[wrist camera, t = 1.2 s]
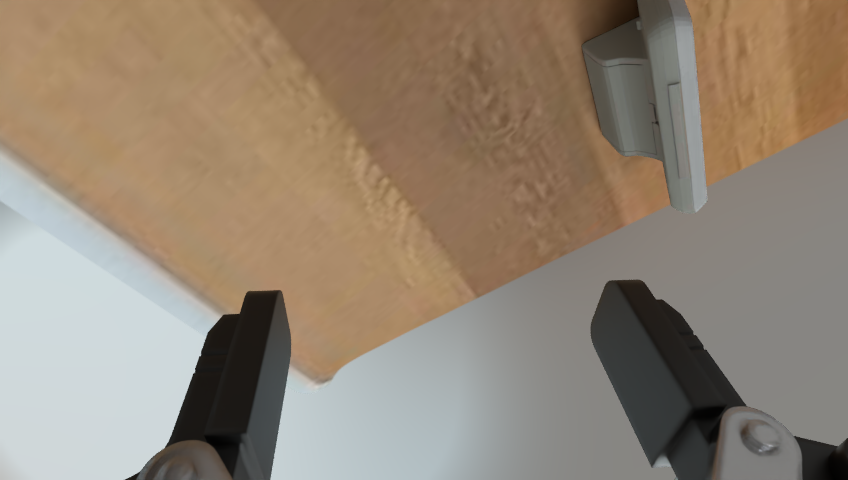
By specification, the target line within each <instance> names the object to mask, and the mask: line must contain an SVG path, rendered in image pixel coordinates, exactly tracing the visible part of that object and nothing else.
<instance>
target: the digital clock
mask: <svg viewBox="0 0 848 480" xmlns="http://www.w3.org/2000/svg"><path fill="white" fill-rule="evenodd" d="M637 3H638V10H639V17H637V18H635V19H633V20H631V21H629V22H627V23H625V24H623V25H621V26H618V27H616V28H614V29H612V30H610V31H608V32H606V33H604V34H602V35H600V36H598V37H596V38H593V39H591V40H589V41H587V42H585V43H584V44H582V50H583V54H584V58H585V63H586V67H587V71H588V75H589V80H590V84H591V88H592V92H593V97H594V101H595V105H596V109H597V114H598V118H599V122H600V126H601V131H602V135H603V136H604V137H605V138H606V139H607V140H608V142H609V143H610V144H611V145H612V146H613V147H614V148H615V149H616V150H617V151H618V152H619V153H620V154H621V155H623V156H635V155H638V156H645V157H650V158H654V159H657V160H660V161H662V162H663V167H664V172H665V177H666V183H667V188H668V193H669V198H670V203H671V206H672V207H673V208H675V209H676V210H678V211H681V212H683V213H695V212H697V211H698V210H699V209H700V208H701V207H702V206H703V205H704V204H705V203H706V202H707V191H706V190H707V189H706V177H705V165H704V153H703V141H702V129H701V117H700V105H699V94H698V82H697V70H696V58H695V46H694V34H693V26H692V20H691V16H690V13H689V11H688V8H687V6H686V3H685V1H684V0H637Z"/></svg>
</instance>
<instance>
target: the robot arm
mask: <svg viewBox="0 0 848 480" xmlns="http://www.w3.org/2000/svg"><path fill="white" fill-rule="evenodd" d="M591 339H592V343H593V345H594V348H595V350H596V352H597V354H598V356H599V358H600V360H601V362H602V364H603V367H604V369H605V371H606V373H607V375H608V377H609V379H610V381H611V383H612V385H613V387H614V390H615V392H616V394H617V396H618V398H619V400H620V402H621V404H622V406H623V408H624V410H625V412H626V415H627V417H628V418H629V421H630V423H631V425H632V427H633V429H634V431H635V433H636V435H637V438H638V439H639V442H640V444H641V446H642V448H643V450H644V452H645V454H646V456H647V458H648V461H649V462H650V464H651V467H652V468H653V467H667V466H671V467H672V468H673V470H674V472H675V474H676V478H675V479H674V480H848V438H847V439H846V440H845V441H844V442H843V443H842V444H841V445H839V446H834V445H829V444H825V443H821V442H817V441H813V440H808V439H804V438H800V437H796V436H793V435H792V434H791V433H790V432H789V430H788V429H787V428H786V427H785V426H784V425H782V424H781V423H780V422H779V421H777V420H776V419H775V418H773V417H772V416H770V415H768V414H766V413H764V412H762V411H760V410H757V409H754V408H750V407H747V406H746V404H745V403H744V402H743V401H742V399H741V398H740V396H739V395H738V393H737V392H736V391H735V389H734V388H733V386H732V385H731V384H730V382H729V381H728V379H727V378H726V377H725V376H724V374H723V372H722V371H721V370H720V368H719V367H718V366H717V364H716V363H715V361H714V360H713V358H712V357H711V356H710V354H709V353H708V352H707V350H704V348H703V344H702V343H701V342H700V340H699V339H698V337H697V336H696V335H694V334H693V330H692V329H691V328H690V326H689V325H688V323H687V322H686V321H685V319H684V318H683V316H682V315H681V314H680V313H679V312H677V311H676V310H675V309H674V308H672V307H671V306H670V305H669V304H667V303H666V302H665V301H664V300H656V299H655V297H654V296H653V294H652V293H651V292H650V290H649V289H648V287H647V286H646V284H645V283H644V282H643V281H641V280H614V281H613V280H612V281H609V282H608V283H606V285H605V287H604V290H603V292H602V295H601V298H600V300H599V303H598V306H597V308H596V311H595V314H594V316H593V319H592V322H591ZM290 356H291V335H290V329H289V324H288V319H287V314H286V309H285V303H284V298H283V294H282V292H281V290H273V291H248V292H247V293H246V295H245V298H244V302H243V305H242V308H241V312H240V314H228V315H223V316H222V317H221V318H220V320H219V321H218V322H217V323H216V324H215V325H214V326H213V327H212V329H211V330H210V331H209V332H208V334H207V337H206V340H205V343H204V346H203V348H202V351H201V356H200V357H199V360H198V362H197V365H196V368H195V373H194V374H193V377H192V380H191V382H190V385H189V388H188V391H187V393H186V396H185V399H184V402H183V404H182V407H181V410H180V413H179V416H178V418H177V421H176V424H175V427H174V430H173V432H172V435H171V437H170V440H169V442H168V443H167V445H166V447H165V448H164V449H163V450H161V451H160V452H158V453H157V454H156V455H155V456H153V457H152V458H151V459H150V460H149V461H148V462H147V464H146V465H145V466H144V467H143V469H142V470H141V471H140V472H139V473H137V474H135V475H134V476H132V477H130V478H128V479H125V480H270V477H271V471H272V465H273V459H274V453H275V447H276V441H277V435H278V429H279V423H280V417H281V411H282V405H283V399H284V393H285V387H286V381H287V375H288V369H289V363H290Z"/></svg>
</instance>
